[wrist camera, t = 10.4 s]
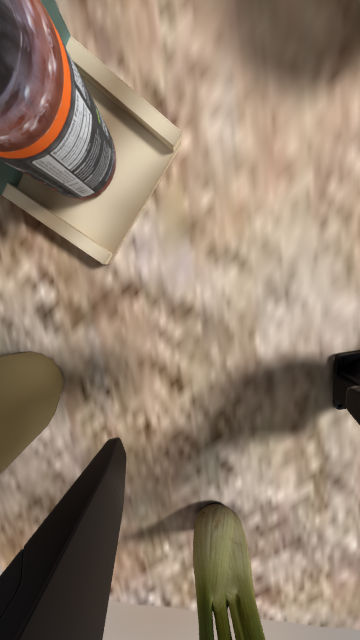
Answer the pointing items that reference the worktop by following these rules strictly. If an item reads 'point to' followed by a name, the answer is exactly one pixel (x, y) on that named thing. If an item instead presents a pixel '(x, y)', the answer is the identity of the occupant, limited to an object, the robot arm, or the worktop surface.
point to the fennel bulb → (224, 576)
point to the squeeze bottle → (26, 401)
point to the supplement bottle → (49, 108)
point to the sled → (131, 161)
